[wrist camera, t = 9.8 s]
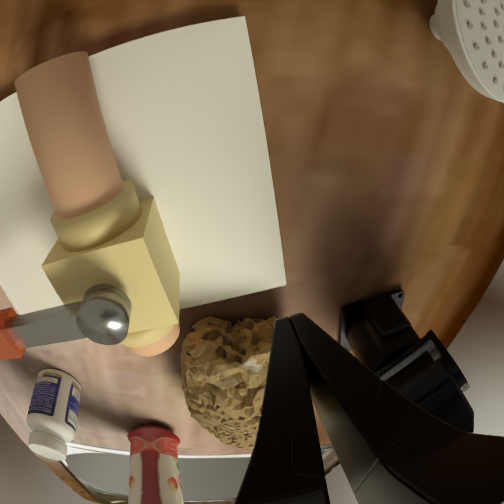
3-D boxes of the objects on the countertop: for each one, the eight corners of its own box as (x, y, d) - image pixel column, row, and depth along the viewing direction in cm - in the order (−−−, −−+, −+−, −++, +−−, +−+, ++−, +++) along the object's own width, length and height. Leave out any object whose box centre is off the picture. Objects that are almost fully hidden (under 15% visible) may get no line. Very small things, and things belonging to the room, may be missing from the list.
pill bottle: (34, 379, 26) (17, 446, 19) (45, 360, 25) (26, 435, 17) (73, 399, 29) (63, 466, 21) (89, 383, 27) (79, 457, 20)
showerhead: (468, -78, 5) (555, 28, 8) (399, -56, 11) (487, 20, 14) (441, 37, 9) (532, 134, 12) (363, 40, 15) (461, 108, 18)
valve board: (283, 276, 24) (305, 332, 19) (38, 328, 23) (20, 379, 18) (242, 19, 14) (263, -5, 9) (-54, 142, 13) (-104, 171, 8)
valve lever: (119, 276, 14) (112, 304, 12) (140, 314, 15) (136, 343, 14) (-33, 316, 13) (-45, 337, 12) (-12, 343, 15) (-22, 364, 13)
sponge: (164, 306, 25) (194, 443, 32) (179, 365, 18) (212, 495, 25) (306, 280, 29) (293, 416, 36) (355, 321, 22) (322, 459, 29)
